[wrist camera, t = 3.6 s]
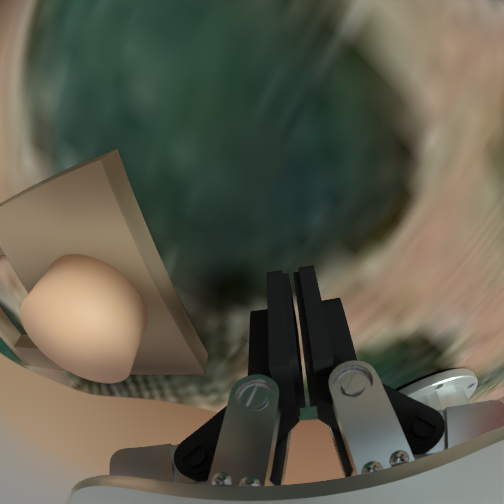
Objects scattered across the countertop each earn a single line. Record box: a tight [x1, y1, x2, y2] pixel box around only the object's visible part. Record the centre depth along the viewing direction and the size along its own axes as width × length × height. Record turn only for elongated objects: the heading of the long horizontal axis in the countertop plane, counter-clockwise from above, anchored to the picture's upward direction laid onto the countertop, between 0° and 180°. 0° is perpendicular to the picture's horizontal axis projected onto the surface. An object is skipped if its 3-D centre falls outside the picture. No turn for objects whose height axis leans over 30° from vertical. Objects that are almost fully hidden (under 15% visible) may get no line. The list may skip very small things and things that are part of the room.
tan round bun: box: [20, 254, 148, 383], centre depth 12 cm, size 6×6×3 cm
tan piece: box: [0, 149, 208, 375], centre depth 15 cm, size 13×18×2 cm
